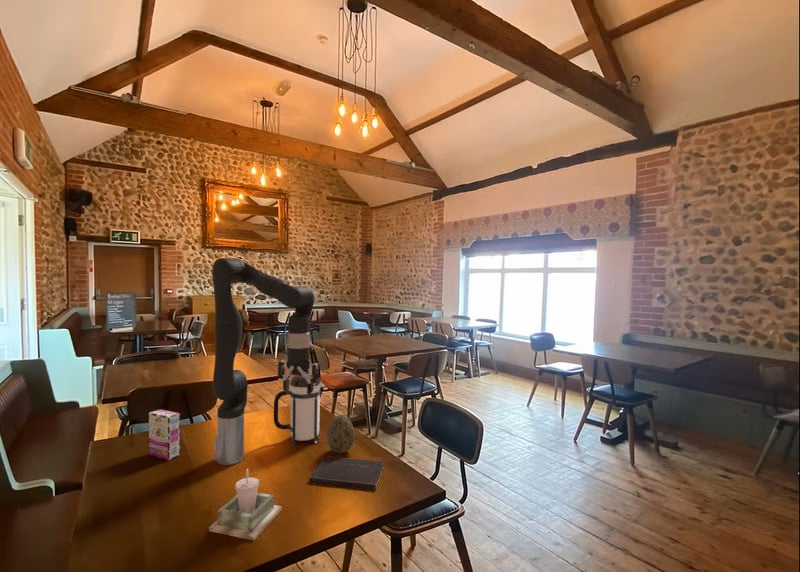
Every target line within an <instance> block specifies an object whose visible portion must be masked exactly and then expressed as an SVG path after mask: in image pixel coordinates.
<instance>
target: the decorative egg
mask: <svg viewBox="0 0 800 572" xmlns="http://www.w3.org/2000/svg"><path fill="white" fill-rule="evenodd" d="M355 436H356V434H355V429H354V425H353V423H352V421H351V420H350V418H349V417H348V416H346V415H344V414H338V415H336V416H335V417H334V418H333V419H332V420H331V422H330V424H329V426H328V429H327V433H326V443H327V445H328V447H329V449H330V450H331V451H332V452H334V453H335V454H345V453H346V452H348V451H349V450H350V449H351V447H352V446H353V445H354V442H355Z"/></svg>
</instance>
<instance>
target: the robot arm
mask: <svg viewBox="0 0 800 572" xmlns="http://www.w3.org/2000/svg"><path fill="white" fill-rule="evenodd" d="M211 275H212V285H213V292H214V293H213V294H214V311H215V312H214V314H215V316H214V318H215V319H214V340H215V343H214V345H215V346H214V348H215V349H214V354H215V355H214V368H213V375H212V376H213V377H212V390H213V393H214V396H215V397H216V398H217V399H218V400H220V401H222V402H221V404H220V405H219V407H218V408H217V414H216V416H217V417H216V419H217V425H216V426H217V434H216V435H215V437H214V462H217V464H219V465H222V466H232V465H235V464H238V463H240V462H242V461H243V460H244V459H245V409H246V406H247V401H248V379H247V376H246V375H245V373H244V372H243V371H242V370H240V369H234V366H235V363H234V362H235V358H236V356H237V353H238V350H239V348H240V346H241V342H242V339H243V318H242V315H241V313H240V311H239V309H238V306H236V304H235V302H234V300H233V295H232V284H239V283H242V284H245V285H246V284H247V285H251V286H253V287H255V289H257V290H258V291H259V292H260V293H262V294H263V295H265V296H267V297H270V298H271V299H275V300H277V301H278V302H280V303H281V304H282V305H284V306H285V307H288V308H292V309H295V310H294V313H292V314H291V315H290V316H289V317H288V320H287V321H288V322H287V338H286V339H287V340H286V359H287V361H286V360H284V359H282V360H280V361H278V363H277V365H278V366H277V379H278V380H279V379H280V380H282V391H284V392H287V391H290V378H291V377H292V375H293V376H295V375H298V376H303V377H304V378H305V379H306V380H307V382H308V384H307V394H311V393H312V392H313V383H314V382H316V381H318V380H319V378H320V373H319V372H320V370H319V368H320V367H319V363H318V362H315V363H311V361H310V358H311V337H310V336H311V335H310V319H311V316H312V312H313V308H314V304H315V303H314V302H315V294H314V292H313V290H312V289H311V287H309V286H304V285H303V286H291V285H290V283H289V282H288V281H286V280H284V279H281V278H279V277H278V276H277V277H276V276H274V275H271V274H269V273H266V272H263V271H261V270H259V269H257V268H255V267H254V266H252V265H250V264H249V263H247V262H246V261H244V260H242V259H240V258H236V257H235V258H232V257H220V258H217V259H216V260H215V261H214V263H213V265H212V269H211ZM286 367H287V371H286ZM310 369H311V371H310ZM285 371H286V373H285ZM306 373H307V374H306ZM311 373H312V375H311Z"/></svg>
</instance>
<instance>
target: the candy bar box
mask: <svg viewBox="0 0 800 572" xmlns="http://www.w3.org/2000/svg"><path fill="white" fill-rule="evenodd" d="M180 421H181V413H179V412H177V411H176V412H175V411H170V410H165V409H161V408H160V409H156V410H153V411H150V412H148V455H149V456H152V457H156V458H160V459H163V460H167V461H171V460H172V459H175V458H177V457H179V456H180V455H181V445H180V444H181V441H180V440H181V437H180V435H181V422H180Z"/></svg>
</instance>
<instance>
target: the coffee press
mask: <svg viewBox="0 0 800 572" xmlns="http://www.w3.org/2000/svg"><path fill="white" fill-rule="evenodd" d="M306 374H307V373H306ZM311 375H312V372H311ZM307 384H308V382H307V380H306V379H305V378H304V377H303V376H298V375H293V376H291V379H289V387H290V388H289V391H287V392H284V390H282V391H280V392H278V393H277V394H276V395H275V397H274V401H273V422H274V423H273V424H274V426H276V428H278V429H281V430H289V436H290V437H291V440H290V445H291V446H295V445H296V443H297V442H298V441H299V442H301V441H302V442H303V441H310V440H312V441H313V443H314V444H318V443H319V442H320V439H319V438H318V435H319V434H320V406H321V405H320V403H321V402H320V400H321V399H320V398H321V388H324V387H325V385H324V384H323V382H322V380H321V379H320V377H319V380H318V381H316V382H314V383H313V392H312V393H311V394H307ZM284 396H289V398H290V405H289V406H290V407H289V410H290V411H289V413H290V414H289V418H290V420H289V423H287V424H282V423H281V422H280V421H279V400H280V398H281V397H284Z"/></svg>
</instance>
